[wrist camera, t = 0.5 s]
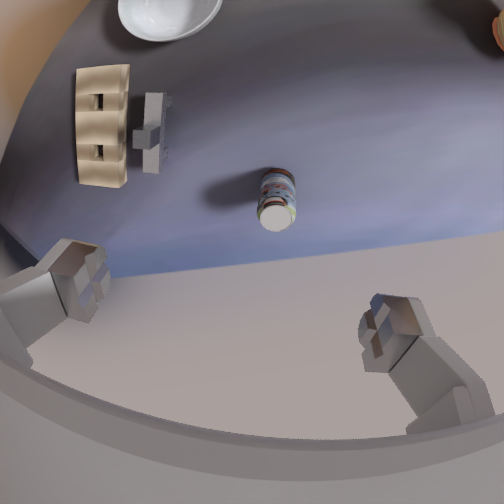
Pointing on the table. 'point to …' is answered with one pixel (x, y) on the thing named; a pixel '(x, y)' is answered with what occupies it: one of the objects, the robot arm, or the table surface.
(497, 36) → the potted cactus
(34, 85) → the table surface
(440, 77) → the table surface
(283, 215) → the beverage can
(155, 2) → the cereal bowl
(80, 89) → the beige flat rectangular block
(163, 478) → the robot arm
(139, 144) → the gray u-shaped bracket
